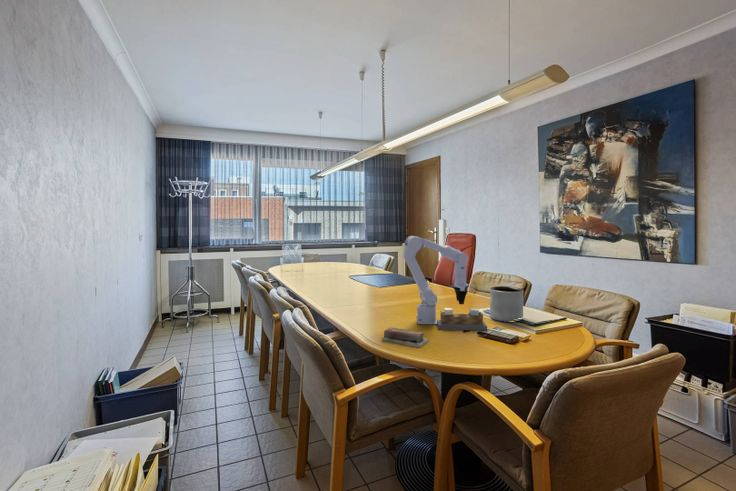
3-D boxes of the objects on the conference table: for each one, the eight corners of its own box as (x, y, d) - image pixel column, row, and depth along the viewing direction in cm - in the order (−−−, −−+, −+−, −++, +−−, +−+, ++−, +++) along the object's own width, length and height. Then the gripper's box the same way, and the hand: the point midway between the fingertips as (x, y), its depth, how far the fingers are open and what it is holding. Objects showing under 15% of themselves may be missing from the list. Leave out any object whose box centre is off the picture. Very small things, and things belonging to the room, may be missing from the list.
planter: (498, 313, 200) (498, 284, 199) (528, 318, 189) (528, 288, 188) (484, 318, 189) (484, 289, 188) (514, 325, 178) (515, 293, 177)
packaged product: (380, 330, 156) (391, 324, 165) (381, 341, 156) (391, 335, 165) (420, 337, 147) (429, 330, 155) (420, 349, 147) (429, 341, 156)
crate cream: (445, 316, 174) (445, 309, 174) (444, 314, 178) (444, 307, 178) (452, 316, 174) (452, 310, 173) (451, 314, 178) (451, 308, 177)
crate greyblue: (470, 316, 173) (470, 310, 172) (469, 314, 177) (469, 308, 176) (478, 316, 172) (478, 310, 172) (477, 314, 176) (477, 308, 176)
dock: (438, 329, 172) (438, 324, 172) (436, 323, 182) (436, 319, 181) (487, 330, 169) (487, 326, 169) (482, 324, 179) (482, 320, 179)
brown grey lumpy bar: (441, 323, 174) (441, 314, 173) (440, 320, 179) (440, 311, 179) (482, 324, 172) (482, 314, 171) (480, 321, 177) (480, 311, 177)
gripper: (471, 278, 177) (470, 305, 177) (466, 273, 191) (466, 299, 192) (456, 277, 177) (455, 305, 178) (452, 273, 192) (452, 299, 193)
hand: (460, 302), depth 185 cm, fingers open, 7 cm apart
